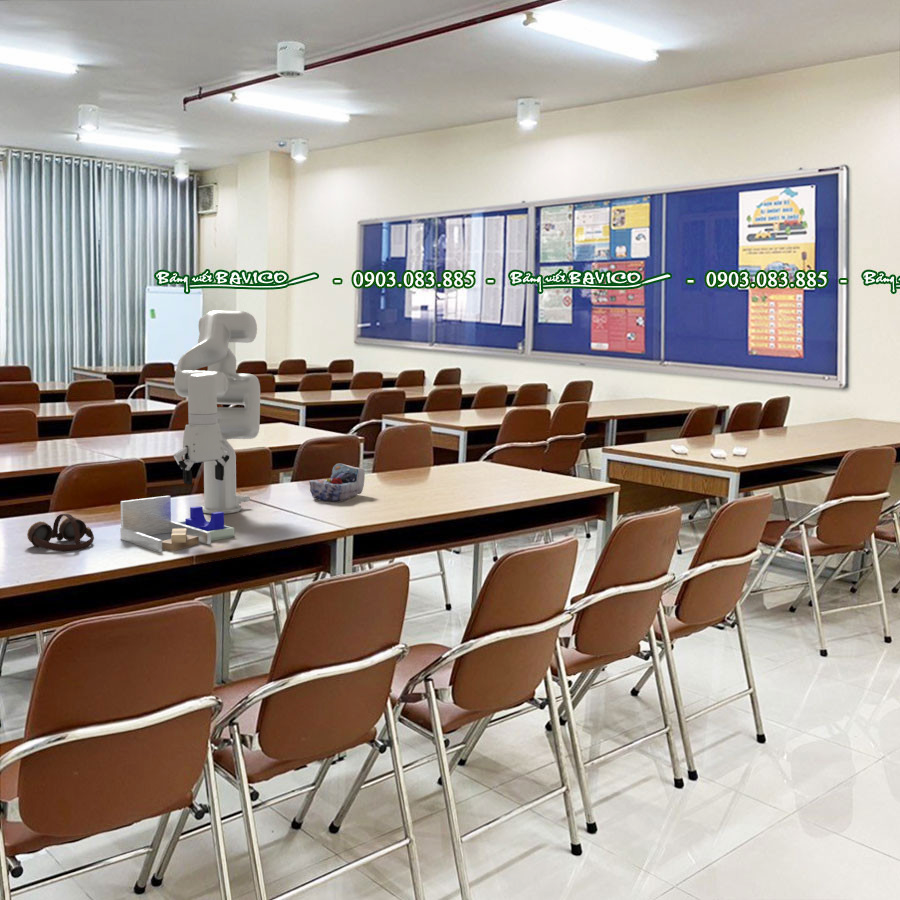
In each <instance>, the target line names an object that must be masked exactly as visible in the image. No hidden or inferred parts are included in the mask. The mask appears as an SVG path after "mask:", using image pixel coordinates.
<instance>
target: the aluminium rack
mask: <svg viewBox="0 0 900 900" xmlns="http://www.w3.org/2000/svg"><path fill="white" fill-rule="evenodd" d="M171 500H172V499H171V495H163V496H162V495H161V496H154V497H153V496H152V497H145V498H139V499H138V498H136V499H129V500H121V501H120V540H122V541H125V542H128V543H131V544H133V545H137V546H139V547H142V548H145V549H149V550H151V551H153V552H156V553H162V552H163V550H162V541H163V540H162V539H159V538H157V537H154V536H153V535H160V534H161V533H162V534H168V533H170V534H172V529H180V528H186V529H187V535H191V536H198V537H199V543H202V544H205V545H212V544H211V543H212V541H211V533H210V532H207V531H203V530H200V529H197V528H193V527H190V526H187V525H184V524H180V523H177V522H178V521H173V520H172V513H171V512H172V511H171V510H172V509H171V507H172V506H171Z"/></svg>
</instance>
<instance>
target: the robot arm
mask: <svg viewBox="0 0 900 900" xmlns="http://www.w3.org/2000/svg"><path fill="white" fill-rule="evenodd" d="M198 332H199V333H198V334H199V335H198V340H197V344H195V345H194V346H193V347H191V348H190V349H189V350H187V351H186V352H185V353H184V354H182V356H181V357H180V358H179V360H178V362H177V365H176V370H175V373H174V381H173V382H174V383H173V386H174V391H175V393H176V394H177V396H179V397H181V398H187V402H188V403H187V408H188V414H187V415H188V424H185V426H184V427H185V428H184V432H183V439H182V448H181V449H180V450H179V451H177V452H175V453H174V454H173V458H174V460H175V461H176V464H177V465H178V466H179V467H180V469H181V470H182V480H183V481H182V482H183V484H185V485H188V486H191V485H192V484H193V470H191V468H192V467H193V465H194V464H196V463H197V464H198V463H203V488H204V489H203V493H204V494H203V497H204V498H203V500H204V504H202V505H200V506H201V507H203V514H210V515H211V513H214V512H224V515H226V514H228V515H229V514H234V513H235V514H236V513H238V512H239V513H240V511H242V506H241V505H240V504H242V503H249V502H250V501H251V497H250V496H249V495H240V494H237V464H236V462H237V455H236V454H237V453H236V451H235V449H234V447H233V446H232V445H231V444H230V443H229V440H253V439H255V438H257V436H258V435H259V433H260V431H259V430H260V420H261V384H260V380H259V378H258V377H257V376H256V375H255V374H251V373H241V372H240V373H238V372H237V358H236V356H235V354H234V353H233V352H232V350H231V349H230V348H229V343H241V344H243V343H247V344H248V343H249V344H251V343H253V342H254V340H255V339H256V337H257V334H258V325H257V321H256V318H255V317H254V315H253V314H251V313H250V312H247V311H243V310H211V311H209V312H208V311H207V313H205V314H204V315H203V316H202V317H200V318H199V320H198ZM205 367H207V370H205V369H203V370H202V369H201V368H205ZM200 369H201V370H200ZM218 405H236V406H237V405H238V406H239V405H240V406H244V407H228V406H227V407H225V406H223V407H222V406H221V407H220V406H219V407H218ZM183 460H184V461H183Z"/></svg>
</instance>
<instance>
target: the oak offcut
mask: <svg viewBox="0 0 900 900" xmlns="http://www.w3.org/2000/svg"><path fill="white" fill-rule="evenodd" d="M170 536H171V538H170V539H171V542H172V543H184V542H186V537H187V529H186V528H180V529H172V533H170Z"/></svg>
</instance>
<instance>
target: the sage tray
mask: <svg viewBox="0 0 900 900" xmlns="http://www.w3.org/2000/svg"><path fill="white" fill-rule="evenodd" d="M206 521H207V522H208V523H209V522H210V520H209V519H206ZM176 522H177V523H180V524H184V525H186V522H185V520H182V521H181V520H180V521H176ZM187 526H188V525H187ZM190 527H191V526H190ZM193 528H195V527H193ZM197 529H198V528H197ZM200 530H201V529H200ZM203 531H205V530H203ZM207 532H210V533H211V542H213V541H218V540H224V539H230V538H231V539H232V538H235V527H232V526H228V525H225V524H224V529H220V530H213V531H207Z"/></svg>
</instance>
